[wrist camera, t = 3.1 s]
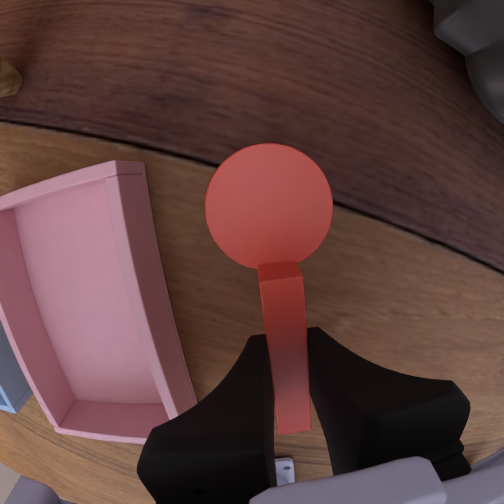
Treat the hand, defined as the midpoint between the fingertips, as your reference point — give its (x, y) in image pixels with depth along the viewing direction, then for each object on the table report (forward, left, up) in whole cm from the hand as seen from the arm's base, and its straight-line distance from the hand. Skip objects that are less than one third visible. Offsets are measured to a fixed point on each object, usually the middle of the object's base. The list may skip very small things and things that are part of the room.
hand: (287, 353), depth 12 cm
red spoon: (+2, 0, -2) cm, 3 cm away
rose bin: (+1, +10, -4) cm, 11 cm away
